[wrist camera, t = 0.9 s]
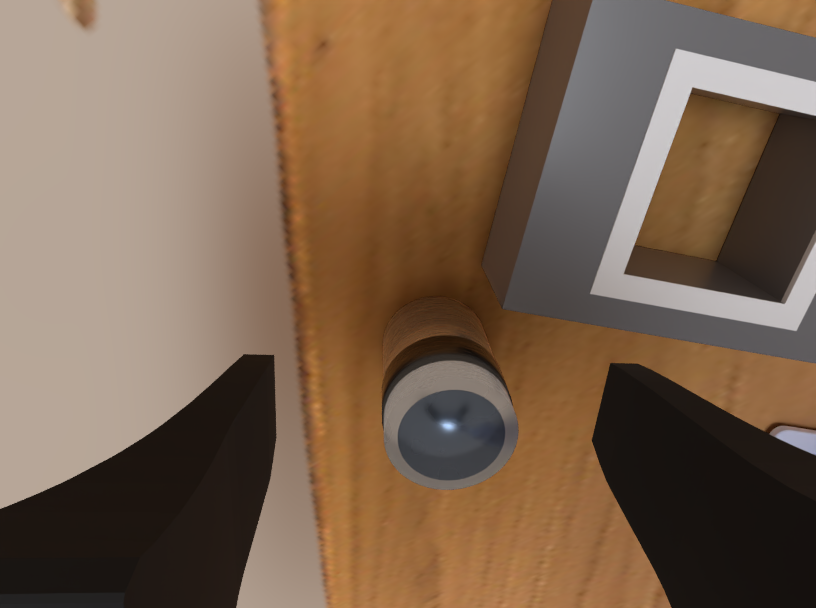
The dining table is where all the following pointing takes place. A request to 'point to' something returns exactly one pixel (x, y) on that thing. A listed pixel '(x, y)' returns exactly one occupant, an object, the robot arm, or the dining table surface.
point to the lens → (444, 397)
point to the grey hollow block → (640, 170)
